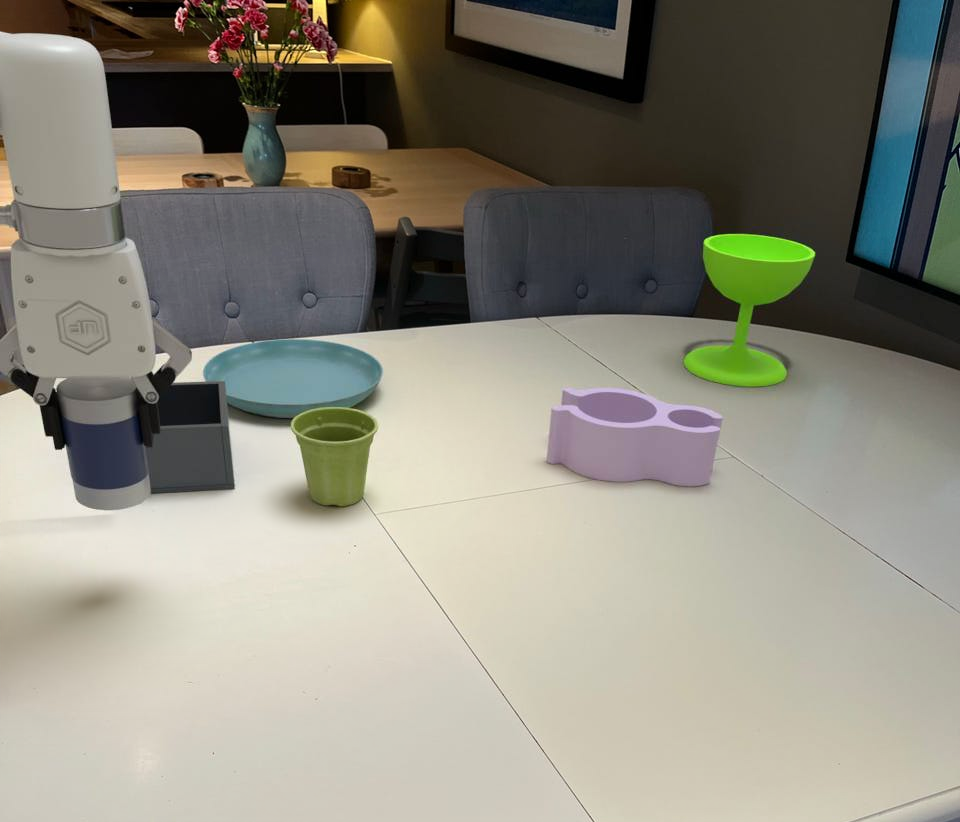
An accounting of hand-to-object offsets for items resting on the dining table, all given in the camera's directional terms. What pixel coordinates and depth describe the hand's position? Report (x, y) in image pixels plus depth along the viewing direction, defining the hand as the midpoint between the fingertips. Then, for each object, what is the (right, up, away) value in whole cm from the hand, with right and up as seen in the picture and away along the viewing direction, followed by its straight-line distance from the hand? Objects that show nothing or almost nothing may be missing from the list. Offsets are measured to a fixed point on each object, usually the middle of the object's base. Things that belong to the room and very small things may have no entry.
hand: (105, 440), depth 86 cm
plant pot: (+16, -1, +27) cm, 31 cm away
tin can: (0, -4, +3) cm, 5 cm away
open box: (-4, +3, +30) cm, 31 cm away
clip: (+51, +5, +38) cm, 64 cm away
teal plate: (+7, +17, +51) cm, 55 cm away
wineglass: (+72, +25, +69) cm, 103 cm away
